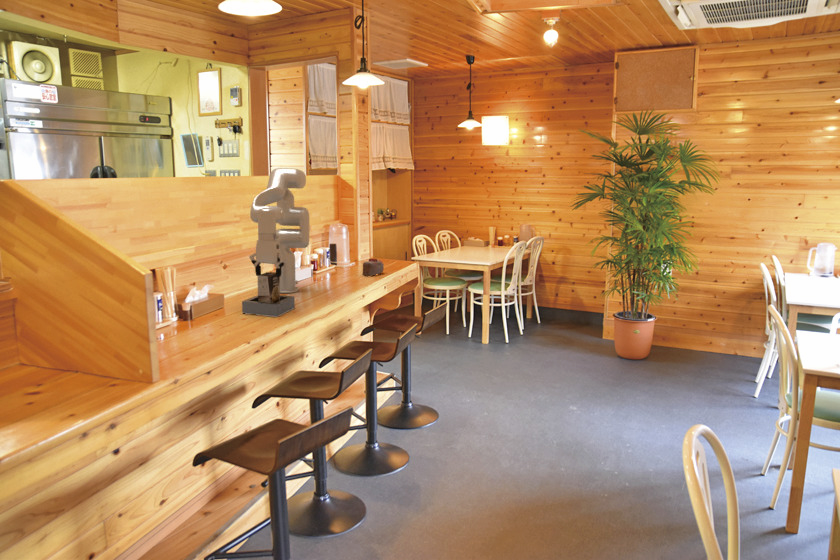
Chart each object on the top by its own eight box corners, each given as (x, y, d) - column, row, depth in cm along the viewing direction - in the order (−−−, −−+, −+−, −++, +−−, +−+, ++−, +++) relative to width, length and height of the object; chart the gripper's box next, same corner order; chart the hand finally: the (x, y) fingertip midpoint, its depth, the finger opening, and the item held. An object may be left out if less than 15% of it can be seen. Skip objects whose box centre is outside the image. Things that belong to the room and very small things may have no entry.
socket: (262, 305, 268) (261, 293, 266) (294, 308, 263) (294, 296, 262) (242, 313, 252) (241, 301, 251) (276, 317, 248) (276, 304, 247)
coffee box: (271, 313, 253) (270, 276, 250) (257, 311, 254) (256, 275, 251) (280, 308, 262) (280, 272, 258) (267, 306, 263) (266, 271, 260)
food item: (373, 272, 354) (373, 256, 352) (384, 273, 350) (384, 257, 348) (361, 276, 342) (361, 259, 340) (372, 277, 338) (373, 260, 336)
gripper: (289, 237, 253) (290, 275, 257) (253, 234, 257) (255, 272, 261) (281, 239, 246) (282, 279, 249) (244, 236, 250) (246, 276, 254)
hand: (268, 276), depth 255 cm, fingers open, 9 cm apart
